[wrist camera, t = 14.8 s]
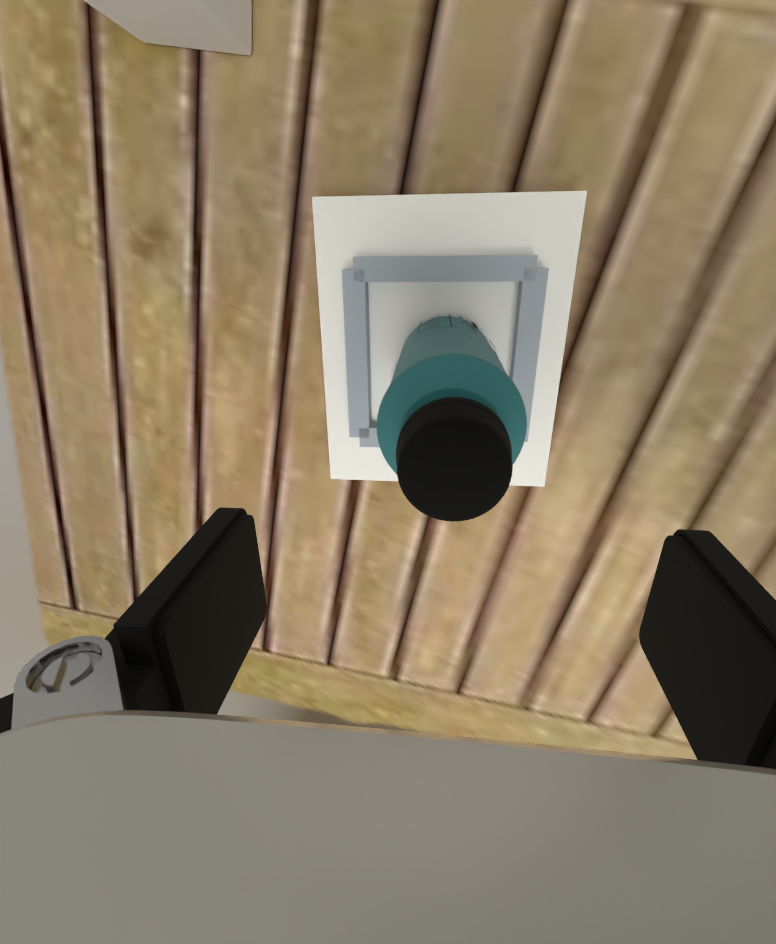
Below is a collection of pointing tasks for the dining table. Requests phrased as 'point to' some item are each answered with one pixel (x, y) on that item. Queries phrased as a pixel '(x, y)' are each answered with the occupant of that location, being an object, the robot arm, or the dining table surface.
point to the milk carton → (185, 22)
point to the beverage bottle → (451, 421)
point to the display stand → (442, 302)
